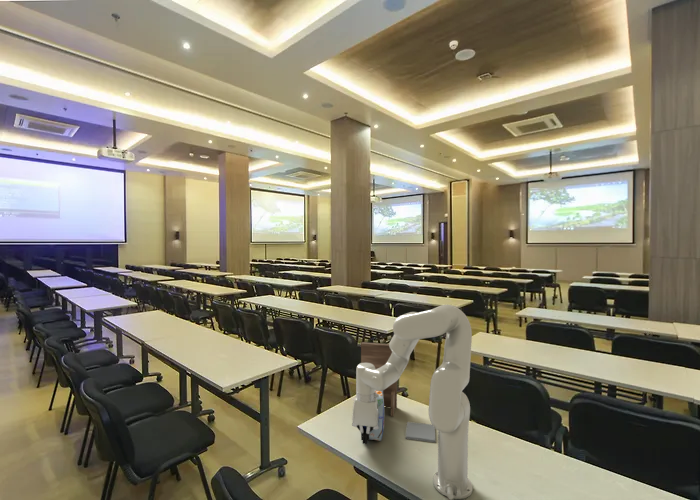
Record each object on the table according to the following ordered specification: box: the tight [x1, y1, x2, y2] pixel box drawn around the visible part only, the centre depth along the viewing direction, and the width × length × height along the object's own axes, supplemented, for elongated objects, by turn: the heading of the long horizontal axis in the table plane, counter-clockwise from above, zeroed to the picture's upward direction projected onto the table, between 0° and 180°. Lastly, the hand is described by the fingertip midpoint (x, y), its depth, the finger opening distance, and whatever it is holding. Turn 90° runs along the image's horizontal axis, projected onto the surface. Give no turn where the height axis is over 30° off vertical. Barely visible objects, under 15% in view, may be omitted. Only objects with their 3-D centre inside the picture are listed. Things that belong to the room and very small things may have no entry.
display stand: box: [360, 341, 398, 417], centre depth 163 cm, size 10×18×31 cm, turn 77°
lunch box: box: [364, 390, 385, 442], centre depth 146 cm, size 28×10×22 cm, turn 177°
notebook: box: [405, 421, 436, 443], centre depth 143 cm, size 12×12×2 cm
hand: (365, 441), depth 131 cm, fingers closed
